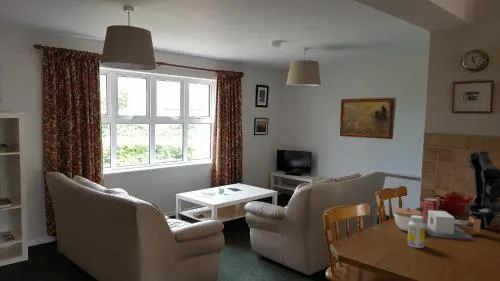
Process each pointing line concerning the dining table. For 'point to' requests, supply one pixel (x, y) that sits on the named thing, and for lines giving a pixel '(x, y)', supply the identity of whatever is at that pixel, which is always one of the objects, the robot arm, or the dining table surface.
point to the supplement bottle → (416, 232)
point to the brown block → (469, 223)
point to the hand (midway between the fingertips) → (487, 225)
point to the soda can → (429, 207)
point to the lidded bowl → (405, 217)
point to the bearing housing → (444, 226)
